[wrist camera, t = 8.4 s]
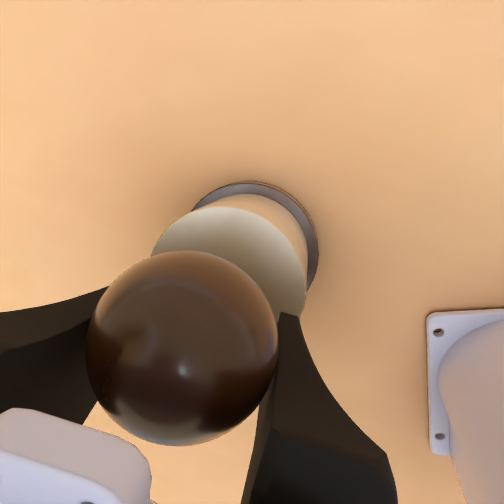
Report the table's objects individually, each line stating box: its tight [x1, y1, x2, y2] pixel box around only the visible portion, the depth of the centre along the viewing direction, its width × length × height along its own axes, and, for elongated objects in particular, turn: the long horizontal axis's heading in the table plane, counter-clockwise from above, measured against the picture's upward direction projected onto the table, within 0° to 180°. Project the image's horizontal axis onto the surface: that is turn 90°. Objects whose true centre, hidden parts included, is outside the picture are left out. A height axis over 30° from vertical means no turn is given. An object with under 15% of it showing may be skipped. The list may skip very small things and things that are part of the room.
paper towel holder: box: [85, 181, 319, 446], centre depth 14 cm, size 7×7×13 cm
